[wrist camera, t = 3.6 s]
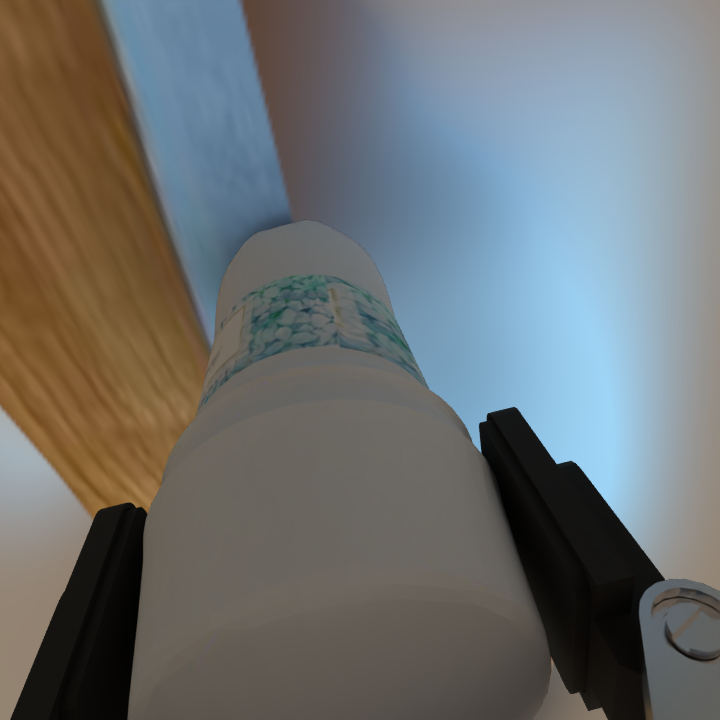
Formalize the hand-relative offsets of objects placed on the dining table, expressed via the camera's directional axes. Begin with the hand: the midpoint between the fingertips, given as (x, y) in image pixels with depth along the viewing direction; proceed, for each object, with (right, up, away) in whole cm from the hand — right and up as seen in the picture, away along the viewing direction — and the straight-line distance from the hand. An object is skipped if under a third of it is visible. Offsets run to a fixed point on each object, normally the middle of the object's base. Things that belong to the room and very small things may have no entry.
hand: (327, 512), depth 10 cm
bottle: (-2, +6, +11) cm, 13 cm away
